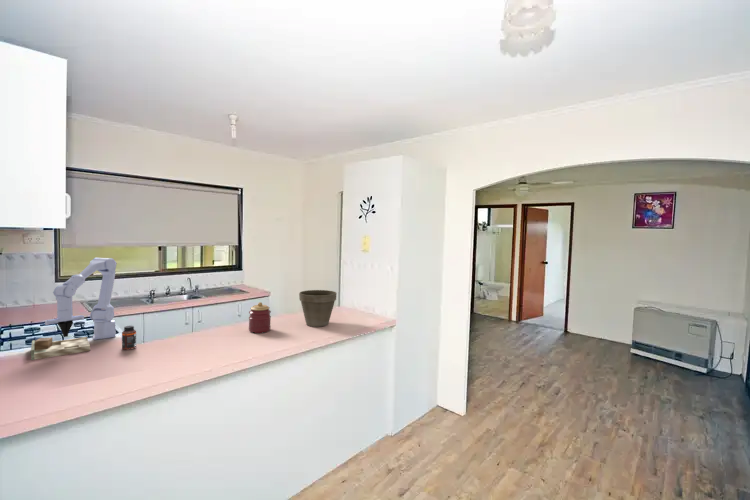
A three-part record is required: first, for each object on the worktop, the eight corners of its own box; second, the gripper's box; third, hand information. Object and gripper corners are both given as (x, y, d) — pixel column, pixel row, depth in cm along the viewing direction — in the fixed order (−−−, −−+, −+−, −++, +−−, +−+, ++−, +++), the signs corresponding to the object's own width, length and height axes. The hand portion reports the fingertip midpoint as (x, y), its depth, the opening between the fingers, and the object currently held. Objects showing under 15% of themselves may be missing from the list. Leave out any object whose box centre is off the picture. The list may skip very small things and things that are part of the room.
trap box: (87, 341, 189) (87, 333, 189) (90, 350, 176) (90, 341, 175) (32, 349, 175) (32, 340, 174) (31, 360, 161) (31, 350, 161)
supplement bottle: (139, 347, 183) (139, 325, 182) (127, 350, 177) (127, 328, 176) (130, 345, 185) (130, 324, 184) (119, 349, 179) (119, 327, 178)
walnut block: (52, 345, 176) (52, 337, 175) (48, 348, 171) (48, 340, 171) (39, 346, 174) (39, 338, 173) (34, 349, 169) (34, 341, 169)
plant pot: (304, 318, 253) (305, 288, 252) (339, 320, 250) (339, 290, 249) (293, 328, 228) (294, 294, 227) (331, 330, 226) (332, 296, 225)
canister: (266, 333, 213) (267, 304, 212) (245, 333, 213) (245, 304, 213) (273, 328, 226) (273, 300, 225) (253, 327, 226) (253, 300, 226)
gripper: (80, 305, 183) (81, 331, 184) (43, 310, 172) (43, 338, 172) (85, 307, 179) (85, 334, 180) (46, 312, 168) (47, 341, 168)
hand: (65, 336), depth 176 cm, fingers closed
